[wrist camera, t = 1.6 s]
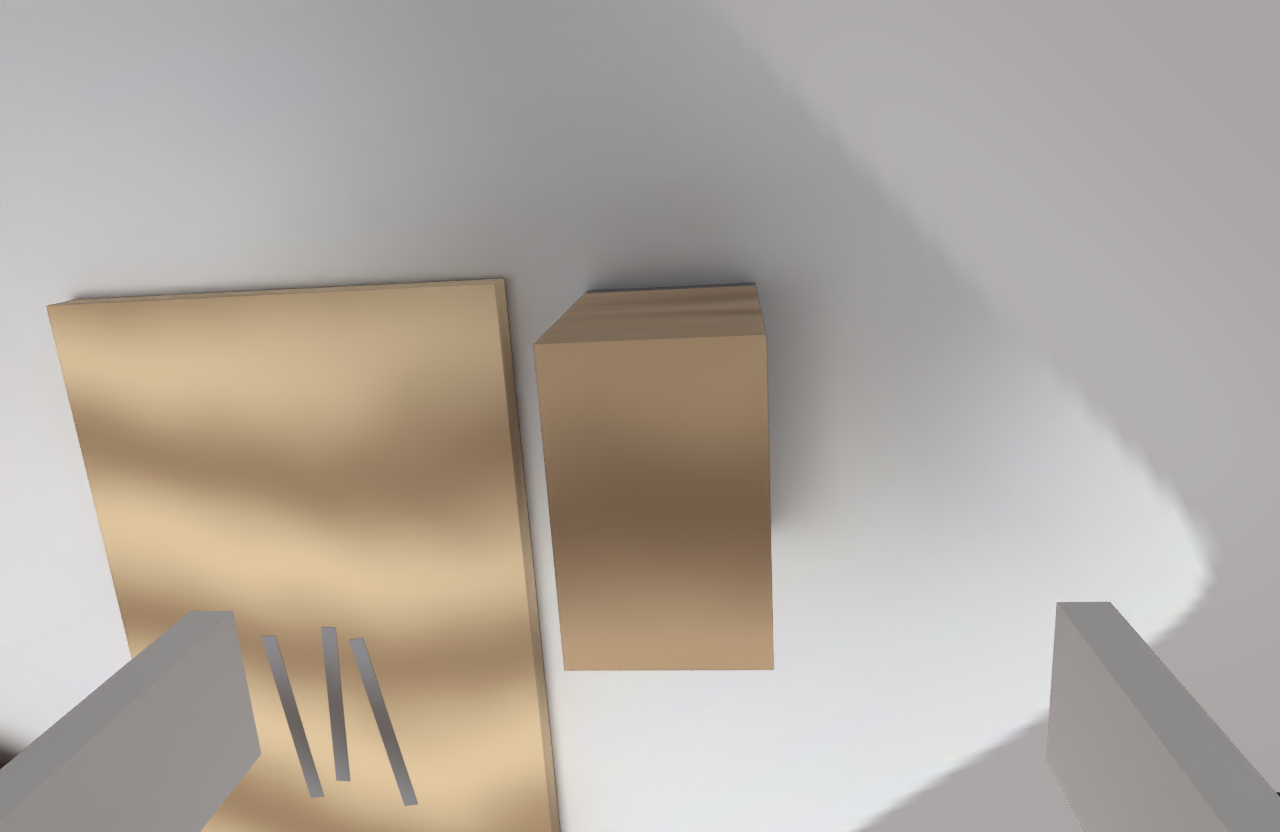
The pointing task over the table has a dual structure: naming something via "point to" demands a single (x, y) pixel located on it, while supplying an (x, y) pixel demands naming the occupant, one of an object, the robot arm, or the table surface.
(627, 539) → the wooden block
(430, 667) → the board
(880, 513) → the table surface
